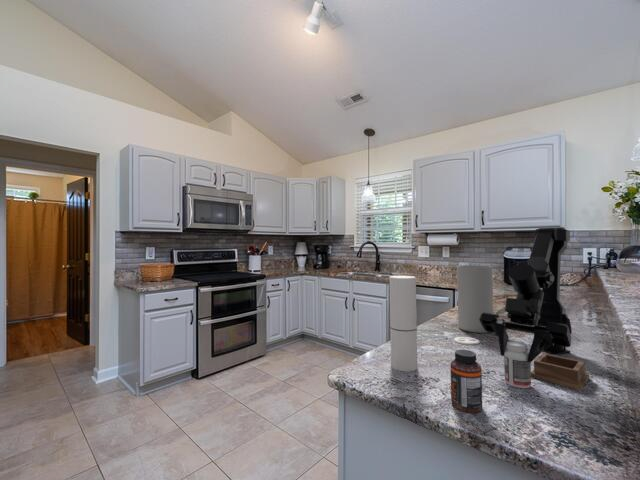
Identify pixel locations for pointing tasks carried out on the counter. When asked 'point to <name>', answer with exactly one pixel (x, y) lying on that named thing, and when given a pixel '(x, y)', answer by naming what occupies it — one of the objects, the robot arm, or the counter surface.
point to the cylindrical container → (403, 323)
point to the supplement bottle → (466, 382)
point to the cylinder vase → (474, 296)
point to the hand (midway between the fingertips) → (515, 358)
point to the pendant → (466, 340)
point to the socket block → (560, 371)
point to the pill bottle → (517, 365)
